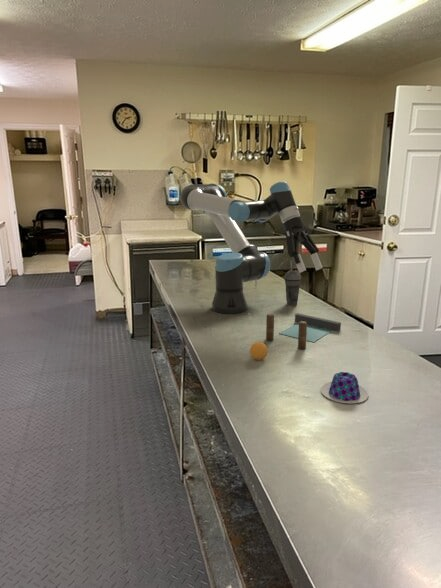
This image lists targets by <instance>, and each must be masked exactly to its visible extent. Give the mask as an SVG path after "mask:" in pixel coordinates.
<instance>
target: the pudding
mask: <svg viewBox="0 0 441 588" xmlns="http://www.w3.org/2000/svg"><path fill="white" fill-rule="evenodd" d="M320 392H321V393H322V395H324V396H325V398H328V399H329V400H330V401H333V402H338V403H342V404H358V403H362V402H364V401H366V400H368V398H369V392H368V391H367V389H365V388H364V387H363V386H361V385H359V381H358V377H356V375H355V374H353V373H350V372H347V371H346V372H343V371H339V372H336V373H335V374H334V375H333V377H332V380H331V381H329V382H327V383H325V384H323V385H322V386H321V387H320ZM331 396H332V397H331ZM359 397H360V398H359ZM358 398H359V399H358ZM341 399H342V400H341ZM343 401H345V402H343Z"/></svg>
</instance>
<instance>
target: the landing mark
mask: <svg viewBox="0 0 441 588" xmlns="http://www.w3.org/2000/svg"><path fill="white" fill-rule="evenodd" d="M298 333H299V323H298V322H296V324H294V325H292V326H289V327H287V328H286V329H284V330H282V331H280V332H279V333H278V334H279V335H283V336H287V337H290V338H294V339H298ZM330 333H332V330H328V329H324V328H320V327H315V326H311V325H307V334H306V342H311V343H316V341H317V342H318V340H320V339H322V338H323V337H325V336H326V335H328V334H330Z"/></svg>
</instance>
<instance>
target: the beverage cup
mask: <svg viewBox="0 0 441 588" xmlns="http://www.w3.org/2000/svg"><path fill="white" fill-rule="evenodd" d="M289 263H290V269H289V270H288V271H287V272H286V273H285V276H284V284H285V297H286V299H285V300H286V305H287V306H291V307H292V306H293V307H294V306H297V305H298V301H299V293H300V286H301V285H300V284H301V282H302V277H301V276H302V275H301V273H299V271H298V270H297V269H293V264H292V259H290V262H289Z"/></svg>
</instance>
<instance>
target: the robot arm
mask: <svg viewBox="0 0 441 588" xmlns="http://www.w3.org/2000/svg"><path fill="white" fill-rule="evenodd" d="M269 191H270V192H269V193H270V194H269V196H267V197H266V198H264V199H263V200H240V199H235V198H230V197H227V192H226V190H225V188H224V187H223V186H222V185H221V184H217V183H206V184H202V183H200V184H197V183H196V184H189V185H187V186H185V187H184V188H183V189H182V190H181V192H180V194H179V199H180V201H179V202H180V204H181V205H182V207H184V208H185V209H186V210H189V211H192V212H193V211H194V212H197V211H202V212H203V213H204V215H205V216H206V217H207V218H211V220H212V222H213V223H214V225H215V226H216V228H217V230H218V231H219V233H220V235H221V236H222V238H223V240H224V241H225V243H226V244H227V246H228V247H229V250H231V253H230V252H228V253H224V254H221V255H219V256H217V257H216V259H215V267H214V270H215V293H214V296H213V300H212V302H211V309H212V310H213V311H214V312H216V313H219V314H220V313H221V314H239V313H243V312H245V311H247V310H248V302H247V300H246V296H245V293H244V283H247V282H252V281H257V280H258V281H259V280H261V279H263V278H265V277H267V275H268V274H269V273H270V270H271V259H270V257H269V256H268V254H267V253H265V252H263V251H259V249H258V248H257V247H256V245H254V244H251V243H250V242H249V240H248V239H247V237H246V236H245V235H244V233H243V231H242V230H241V228H240V227H239V225H238V224H237V222H239V223H240V222H241V223H242V222H246V221H256V222H258V223H260V224H263V223H265V222H266V221H267V222H268V221H269V220H271V218H273V217H274V216H276V215H277V214H278V215H279V217H280V220H281V223H282V226H283V228H284V231H285V233H284V234H285V237H286V247H287V254H288V255H289V258H293V260H294V263H295V265H296V268H297V271H298V272H299V273H300V274H301V273H303V272H304V271H307V269H306V266H305V263H304V261H303V258H302V256H301V253H299V249H300V248H299V247H300V245H303V247H304V248H305V249H306V250H307V251H308V253H309V254H310V255H309V256H310V258H311V261H312V264H313V266H314V268H315V271H319V270H321V269H323V265H322V262H321V260H320V257H319V255H318V253H320V250H319V247H318V246H317V245H316V243H315V242H314V240H313V238H312V237H311V235H310V234H309V232H308V230H307V229H305V230H303V227H304V226H305V223H304V221H303V218H302V216H301V214H300V211H299V207H298V205H297V203H296V201H295V198H294V195H293V193H292V190H291V188H290V185H289V184H288V182H287V181H283V180H281V181H278V182H275V183H273V184H272V185H271V186H270V188H269Z"/></svg>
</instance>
